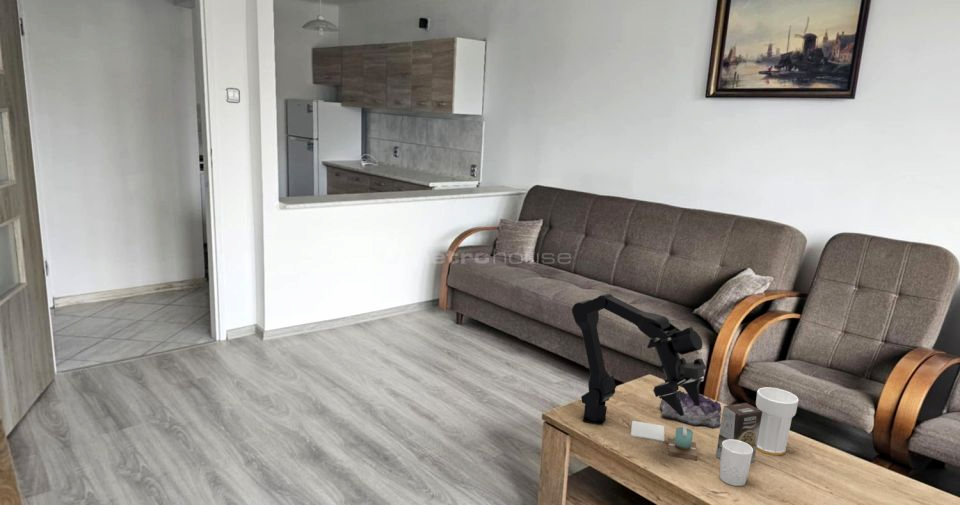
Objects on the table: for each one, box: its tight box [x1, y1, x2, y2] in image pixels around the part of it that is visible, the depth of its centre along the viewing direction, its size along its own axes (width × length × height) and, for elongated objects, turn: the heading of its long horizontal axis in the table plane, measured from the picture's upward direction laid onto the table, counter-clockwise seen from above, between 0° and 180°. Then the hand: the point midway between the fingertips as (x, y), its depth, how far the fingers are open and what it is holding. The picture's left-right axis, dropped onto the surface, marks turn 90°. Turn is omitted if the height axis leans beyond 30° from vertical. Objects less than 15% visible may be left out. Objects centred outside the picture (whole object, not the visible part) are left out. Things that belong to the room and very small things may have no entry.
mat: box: [630, 420, 665, 443], centre depth 198 cm, size 10×10×1 cm
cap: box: [674, 424, 694, 448], centre depth 186 cm, size 6×5×5 cm
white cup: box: [719, 439, 753, 487], centre depth 173 cm, size 8×8×10 cm
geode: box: [659, 391, 722, 429], centre depth 208 cm, size 20×12×10 cm, turn 65°
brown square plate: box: [667, 437, 698, 461], centre depth 187 cm, size 8×8×2 cm
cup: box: [755, 386, 800, 457], centre depth 190 cm, size 11×11×17 cm
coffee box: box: [715, 402, 762, 463], centre depth 183 cm, size 9×6×16 cm
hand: (690, 410), depth 180 cm, fingers open, 9 cm apart
